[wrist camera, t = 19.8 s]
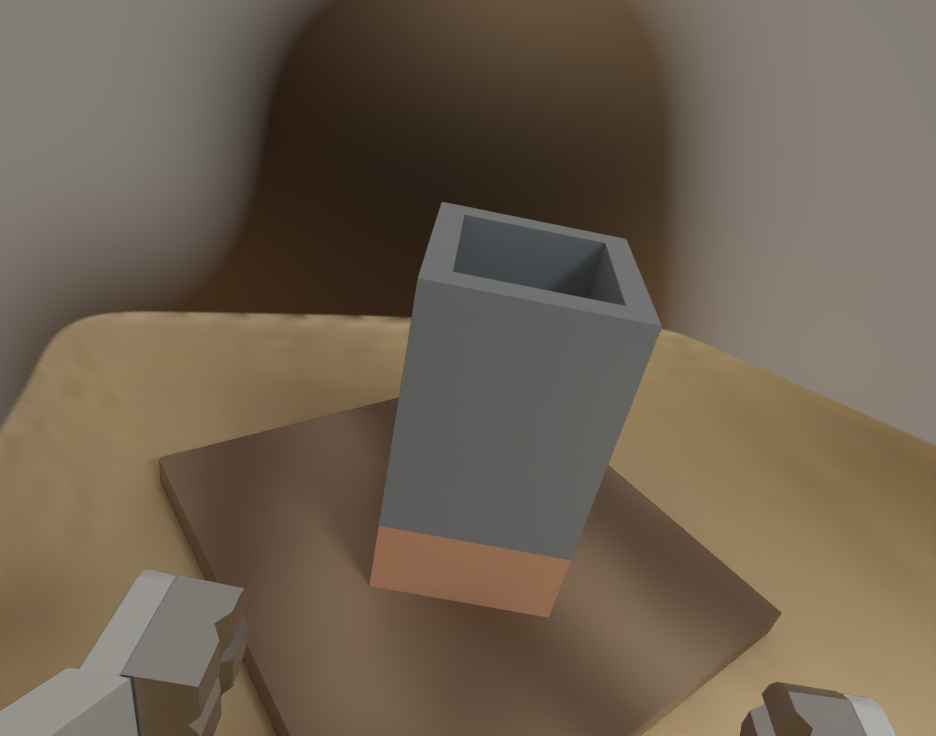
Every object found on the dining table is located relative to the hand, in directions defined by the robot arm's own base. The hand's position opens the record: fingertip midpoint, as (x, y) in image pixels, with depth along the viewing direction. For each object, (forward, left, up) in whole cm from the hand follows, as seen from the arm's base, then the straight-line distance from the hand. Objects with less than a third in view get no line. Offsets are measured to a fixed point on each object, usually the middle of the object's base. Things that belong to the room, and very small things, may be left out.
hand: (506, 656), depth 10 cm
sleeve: (-6, -7, -7) cm, 12 cm away
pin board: (-6, -7, -8) cm, 12 cm away
